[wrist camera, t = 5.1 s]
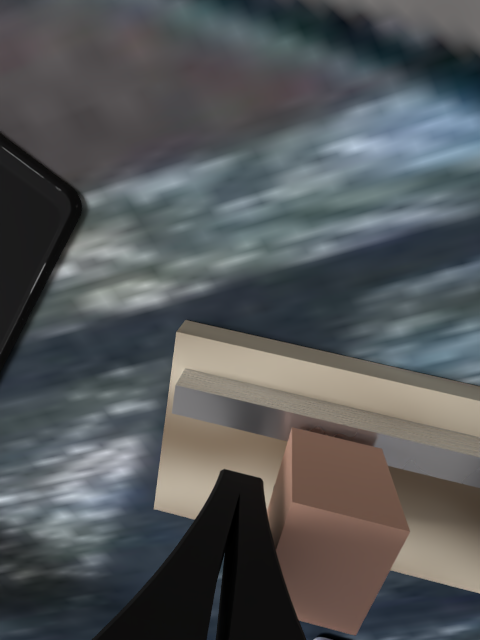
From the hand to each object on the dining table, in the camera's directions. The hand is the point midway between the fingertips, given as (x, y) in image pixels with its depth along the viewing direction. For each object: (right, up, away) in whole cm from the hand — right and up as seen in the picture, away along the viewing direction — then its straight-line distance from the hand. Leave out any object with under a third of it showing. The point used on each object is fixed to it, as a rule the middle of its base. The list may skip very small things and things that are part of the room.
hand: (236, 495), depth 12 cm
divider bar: (+7, +1, +1) cm, 7 cm away
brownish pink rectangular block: (+3, 0, +2) cm, 4 cm away
